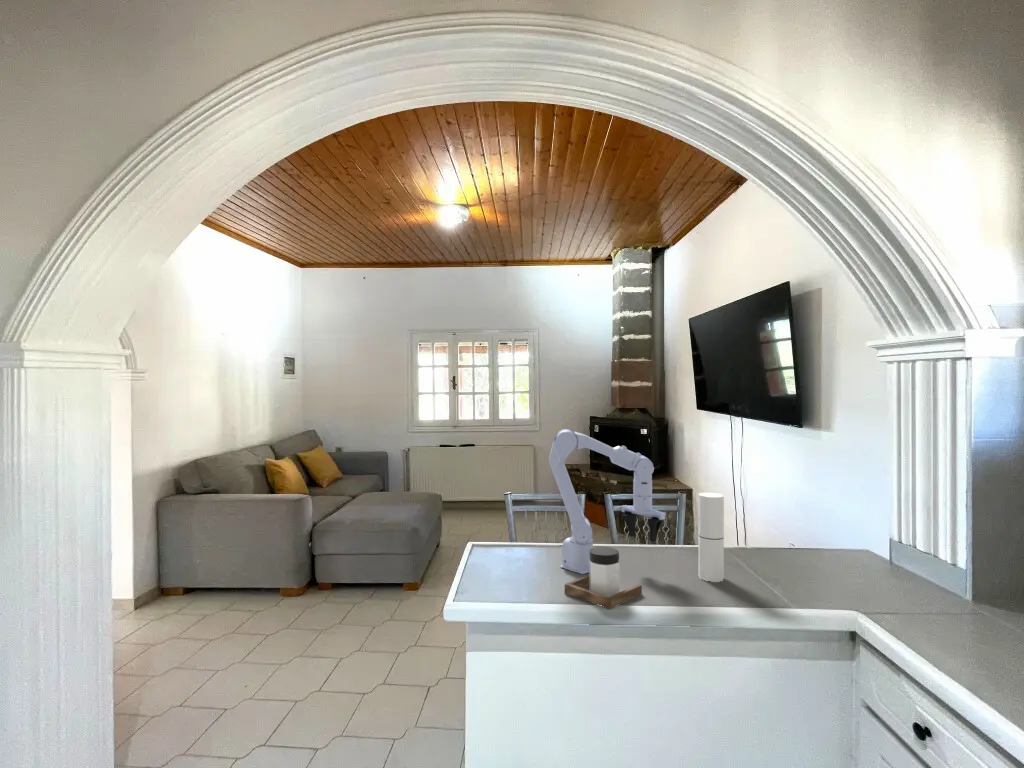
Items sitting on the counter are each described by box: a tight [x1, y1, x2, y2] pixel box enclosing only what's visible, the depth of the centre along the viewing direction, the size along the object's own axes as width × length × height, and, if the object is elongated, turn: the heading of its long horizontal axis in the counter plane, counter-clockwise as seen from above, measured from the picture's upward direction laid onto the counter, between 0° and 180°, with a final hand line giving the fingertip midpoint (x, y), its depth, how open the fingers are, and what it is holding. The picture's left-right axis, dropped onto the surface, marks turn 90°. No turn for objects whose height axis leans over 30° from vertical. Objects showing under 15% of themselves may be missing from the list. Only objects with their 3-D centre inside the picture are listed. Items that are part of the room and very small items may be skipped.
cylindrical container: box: [697, 491, 725, 583], centre depth 166 cm, size 7×7×25 cm
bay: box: [564, 574, 643, 610], centre depth 154 cm, size 15×15×2 cm
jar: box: [588, 546, 620, 597], centre depth 154 cm, size 9×8×12 cm
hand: (642, 538), depth 173 cm, fingers open, 7 cm apart
